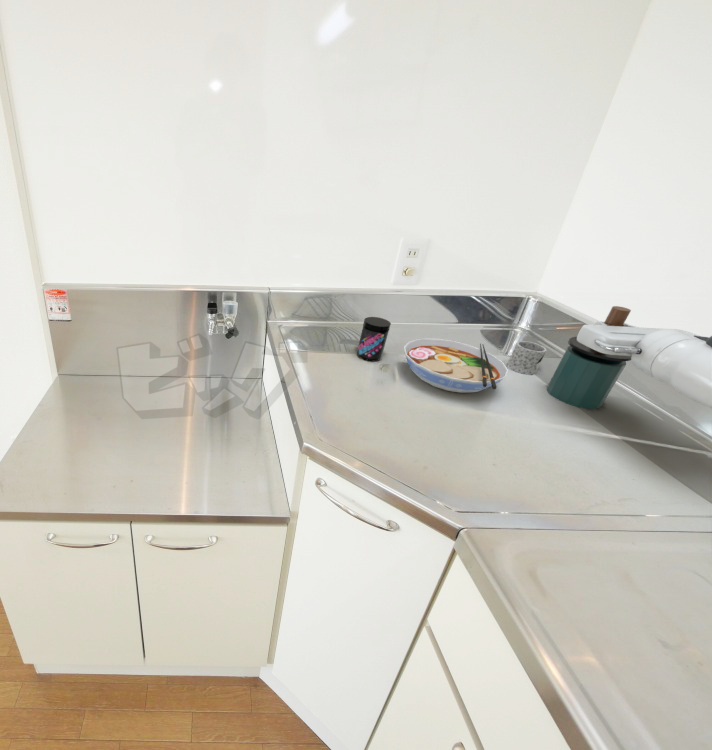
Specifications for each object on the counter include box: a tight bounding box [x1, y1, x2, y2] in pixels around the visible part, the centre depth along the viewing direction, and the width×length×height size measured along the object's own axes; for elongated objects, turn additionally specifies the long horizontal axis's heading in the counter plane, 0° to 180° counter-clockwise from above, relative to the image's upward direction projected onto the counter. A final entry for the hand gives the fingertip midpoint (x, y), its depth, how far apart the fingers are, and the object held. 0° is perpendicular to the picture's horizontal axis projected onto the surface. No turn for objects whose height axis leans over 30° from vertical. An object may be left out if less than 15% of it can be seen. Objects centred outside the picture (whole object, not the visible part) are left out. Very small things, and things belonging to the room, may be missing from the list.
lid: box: [567, 305, 632, 362], centre depth 91 cm, size 11×11×10 cm
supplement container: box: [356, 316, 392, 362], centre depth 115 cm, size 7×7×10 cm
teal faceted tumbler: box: [546, 345, 627, 410], centre depth 97 cm, size 10×10×12 cm
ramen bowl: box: [403, 337, 509, 394], centre depth 103 cm, size 25×23×8 cm
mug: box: [506, 340, 547, 375], centre depth 114 cm, size 10×7×7 cm, turn 162°
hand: (608, 325), depth 92 cm, fingers closed on lid, 3 cm apart
